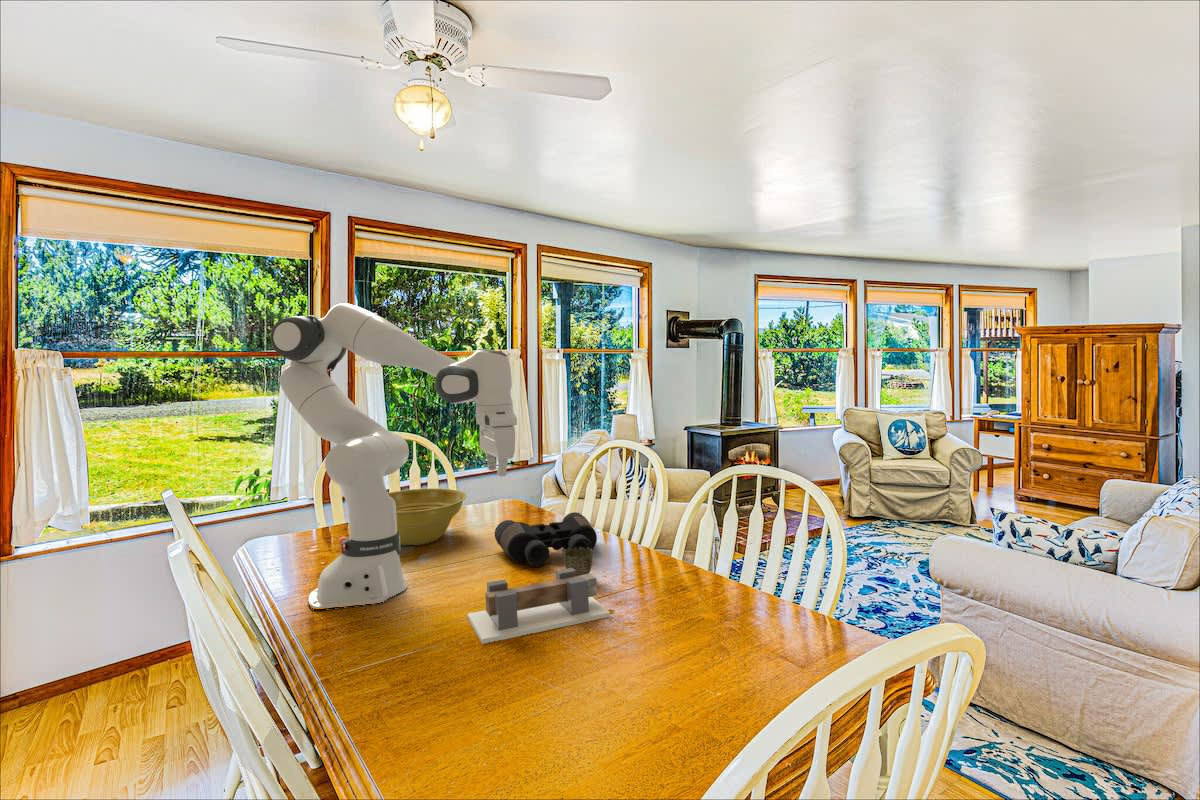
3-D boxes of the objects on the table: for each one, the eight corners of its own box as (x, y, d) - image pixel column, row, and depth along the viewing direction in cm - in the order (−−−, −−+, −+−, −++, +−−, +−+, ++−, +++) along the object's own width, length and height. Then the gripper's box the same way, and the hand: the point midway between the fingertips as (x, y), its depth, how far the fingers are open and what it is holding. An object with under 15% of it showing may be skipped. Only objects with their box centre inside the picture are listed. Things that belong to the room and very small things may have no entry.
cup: (590, 587, 150) (589, 555, 149) (561, 586, 151) (560, 554, 151) (596, 577, 157) (595, 546, 156) (568, 576, 158) (567, 545, 158)
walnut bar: (489, 616, 127) (488, 597, 127) (485, 610, 130) (485, 592, 130) (597, 595, 137) (596, 578, 136) (591, 590, 140) (590, 573, 140)
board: (482, 644, 121) (480, 604, 120) (467, 618, 134) (466, 582, 133) (610, 616, 132) (609, 580, 132) (585, 595, 145) (584, 562, 145)
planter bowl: (454, 554, 180) (452, 509, 179) (346, 556, 180) (343, 512, 179) (477, 525, 212) (476, 487, 211) (385, 527, 212) (383, 489, 211)
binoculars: (585, 538, 191) (585, 507, 190) (609, 562, 172) (609, 528, 171) (494, 550, 181) (493, 517, 180) (509, 577, 162) (508, 541, 161)
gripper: (472, 414, 156) (474, 467, 156) (492, 420, 137) (494, 480, 138) (496, 412, 158) (498, 465, 159) (519, 418, 140) (521, 478, 140)
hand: (496, 472), depth 148 cm, fingers open, 8 cm apart
